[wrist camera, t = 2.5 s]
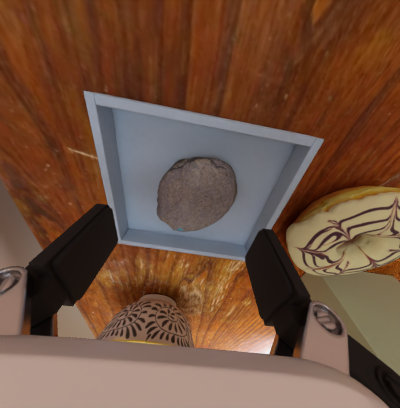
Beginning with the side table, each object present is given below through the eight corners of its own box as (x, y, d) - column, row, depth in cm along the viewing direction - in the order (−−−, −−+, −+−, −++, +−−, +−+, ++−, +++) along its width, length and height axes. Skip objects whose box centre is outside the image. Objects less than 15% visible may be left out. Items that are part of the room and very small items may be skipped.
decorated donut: (260, 225, 16) (273, 252, 13) (372, 152, 12) (433, 168, 9) (306, 265, 20) (325, 294, 17) (406, 221, 15) (458, 250, 12)
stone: (252, 191, 14) (260, 203, 12) (190, 233, 17) (188, 248, 15) (204, 131, 11) (204, 135, 9) (141, 195, 14) (131, 208, 12)
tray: (305, 134, 11) (324, 139, 9) (246, 247, 18) (251, 262, 17) (104, 94, 10) (82, 90, 8) (125, 229, 17) (116, 243, 16)
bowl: (185, 324, 33) (181, 374, 27) (114, 311, 31) (90, 363, 24) (212, 291, 25) (214, 353, 18) (116, 270, 22) (80, 333, 16)
